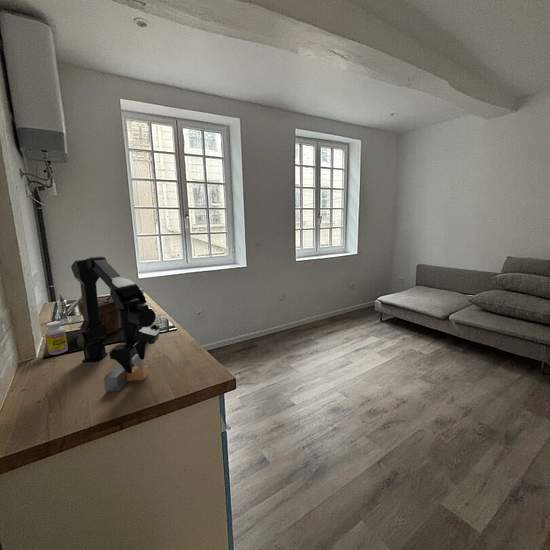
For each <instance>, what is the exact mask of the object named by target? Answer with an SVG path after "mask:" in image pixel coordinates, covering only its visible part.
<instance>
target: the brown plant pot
mask: <svg viewBox="0 0 550 550" xmlns="http://www.w3.org/2000/svg"><path fill="white" fill-rule="evenodd" d="M97 299H98V309H99V319H100V320H101V321H102V322H103V323H104V324H105V325H106V329H107V335H109V334H112V333H115V332H117V331H118V328H119V327H120V326H121V325H120V318H119V311H118V308H115V306H116V305H117V304H116V303H115V302H114V301H113V299H112V297H111V295H110V296H108V297H106V298H98V297H97ZM78 310H79V313H80V315H81V316H82V318H83V320H84V311H83V302H82V298H80V299H79V300H78Z"/></svg>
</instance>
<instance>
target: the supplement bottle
mask: <svg viewBox="0 0 550 550" xmlns="http://www.w3.org/2000/svg"><path fill="white" fill-rule="evenodd" d="M61 325H62V323H61V321H59V320H56V321H51V322H48V323H46V328H47V329H46V330H45V331H44V337H45V341H46V345H47V351H48V354H49V355H51V356H55V355H60V354H62V353H65V352H67V351H68V349H69V346H68V345H69V344H68V341H67V334H66V329H65V327H63V326H61Z"/></svg>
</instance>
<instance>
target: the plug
mask: <svg viewBox="0 0 550 550" xmlns="http://www.w3.org/2000/svg"><path fill="white" fill-rule="evenodd" d="M148 375H149V366H148V365H141V366H132V373H128V372H126V378H127V382H128V381H129V382H130V381H143V380H145V379H146V378H147V377H148Z"/></svg>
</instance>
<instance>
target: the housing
mask: <svg viewBox="0 0 550 550" xmlns="http://www.w3.org/2000/svg"><path fill="white" fill-rule="evenodd" d="M141 361H142V360H141V359H140V357H139V355H138V353H136V354H135V355H134V356H133V357H132V366H142V362H141ZM126 372H127V371H126V370H125V369H124V368H123V367H122V366H121V364H120V363H118V364H117V365H116V366H114V368H113V369H112V370H111V371H109V372H108V373H107V375H105V376H104V377H103V382H104V383H103V384H104V388H105V393H117V392H118V393H119V392H120V391H121V390H122V389H123V387H124V386H126V384H127V383H128V381H127V378H126Z"/></svg>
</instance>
